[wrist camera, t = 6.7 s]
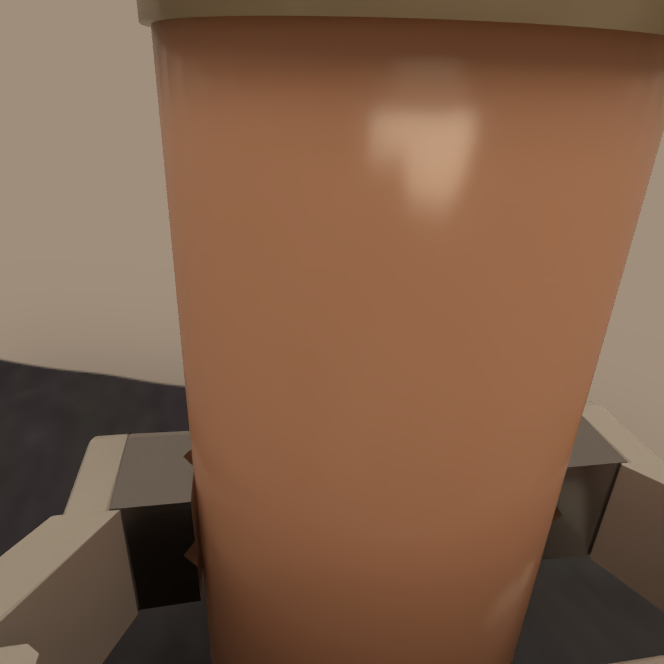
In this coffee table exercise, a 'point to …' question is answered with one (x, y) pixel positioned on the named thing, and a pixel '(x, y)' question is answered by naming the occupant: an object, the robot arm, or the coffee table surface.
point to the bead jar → (393, 301)
